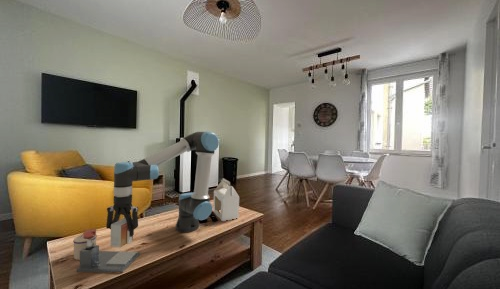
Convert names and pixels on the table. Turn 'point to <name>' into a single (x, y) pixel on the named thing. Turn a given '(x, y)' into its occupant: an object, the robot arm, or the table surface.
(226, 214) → the gable box
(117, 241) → the small box
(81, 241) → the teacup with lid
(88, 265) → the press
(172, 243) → the table surface
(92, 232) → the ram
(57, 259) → the table surface
